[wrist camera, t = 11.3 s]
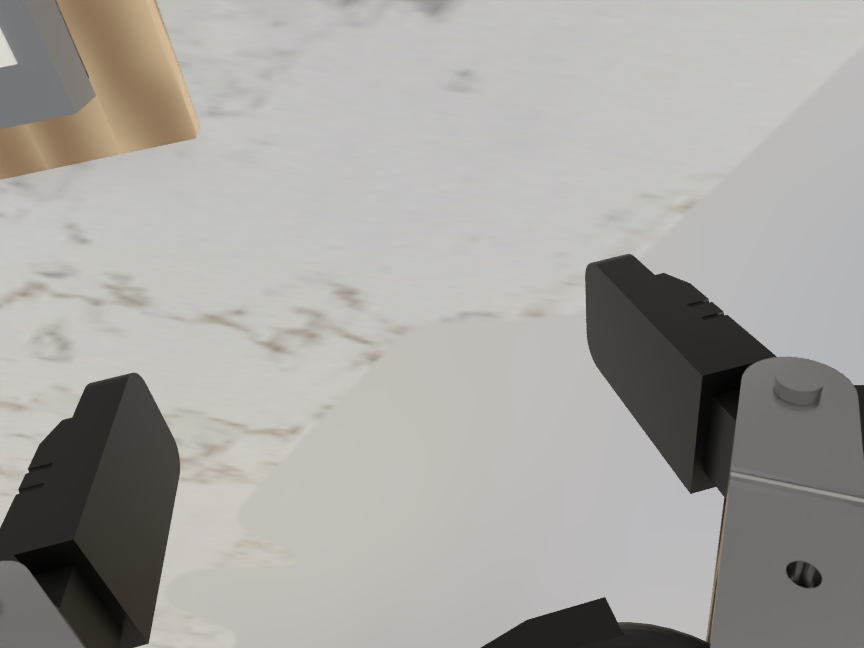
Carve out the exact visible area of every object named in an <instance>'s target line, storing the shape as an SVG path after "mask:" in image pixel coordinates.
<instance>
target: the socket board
mask: <svg viewBox="0 0 864 648" xmlns="http://www.w3.org/2000/svg"><path fill="white" fill-rule="evenodd" d="M56 2H57V4H58V6H59V9H60V11H61V13H62V16H63V18H64V20H65V22H66V25H67V27H68V29H69V32H70V34H71V36H72V39H73V41H74V43H75V46H76V48H77V50H78V53H79V55H80V57H81V60H82V62H83V64H84V66H85V69H86V71H87V72H86V73H87V75H88V77H89V80H90V82H91V84H92V87H93V89H94V91H95V94H96V96H95V97H94V98H93V99H92V100H91V101H90V102H89V103H88V104H86V105H85V106H84V107H83V108H82V109H81V110H80V111H79V112H77V113H76V114H73V115H68V116H63V117H58V118H53V119H48V120H43V121H39V122H34V123H29V124H24V125H19V126H14V127H9V128H4V129H0V180H1V179H6V178H10V177H15V176H20V175H25V174H29V173H34V172H39V171H44V170H48V169H53V168H58V167H62V166H67V165H72V164H77V163H81V162H86V161H91V160H95V159H100V158H105V157H110V156H114V155H119V154H124V153H128V152H133V151H138V150H143V149H147V148H152V147H157V146H161V145H166V144H171V143H176V142H180V141H185V140H190V139H194V138H196V136H197V134H198V131H199V129H200V125H199V122H198V119H197V116H196V113H195V110H194V108H193V105H192V102H191V99H190V96H189V94H188V91H187V88H186V85H185V82H184V79H183V77H182V74H181V71H180V68H179V65H178V62H177V60H176V57H175V54H174V51H173V48H172V45H171V43H170V40H169V37H168V34H167V31H166V29H165V26H164V23H163V20H162V17H161V14H160V12H159V9H158V6H157V3H156V0H56Z"/></svg>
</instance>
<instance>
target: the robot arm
mask: <svg viewBox="0 0 864 648" xmlns="http://www.w3.org/2000/svg"><path fill="white" fill-rule="evenodd" d="M585 283H586V323H587V340H588V345H589V349H590V353H591V355H592V358H593V360H594V362H595V364H596V366H597V367H598V369H599V370H600V372H601V373H602V374H603V376H604V377H605V378H606V380H607V381H608V382H609V384H610V385H611V387H612V388H613V389H614V391H615V392H616V393H617V395H618V396H619V397H620V399H621V400H622V401H623V403H624V404H625V406H626V407H627V408H628V410H629V411H630V412H631V414H632V415H633V416H634V418H635V419H636V420H637V422H638V423H639V424H640V426H641V427H642V428H643V430H644V431H645V433H646V434H647V435H648V437H649V438H650V440H651V441H652V442H653V444H654V445H655V446H656V448H657V449H658V450H659V452H660V453H661V454H662V456H663V457H664V459H665V460H666V461H667V463H668V464H669V465H670V466H671V468H672V469H673V471H674V472H675V473H676V475H677V476H678V478H679V479H680V480H681V482H682V483H683V484H684V486H685V487H686V488H687V489H688V491H689V492H690V494H692V493H695V492H699V491H702V490H706V489H710V488H713V487H717V488H718V490H719V491H720V492H721V493H722V495H723V496H724V497H725V498H724V504H723V511H722V519H721V527H720V536H719V543H718V551H717V560H716V568H715V575H714V584H713V592H712V599H711V607H710V615H709V622H708V630H707V637H706V642H705V641H703V640H701V639H699V638H697V637H694V636H692V635H689V634H686V633H682V632H680V631H676V630H674V629H670V628H665V627H660V626H656V625H651V624H642V623H631V622H617V621H616V618H615V616H614V614H613V612H612V610H611V608H610V606H609V604H608V603H607V600H606V598H605V597H604V598H601V599H597V600H594V601H590V602H587V603H584V604H580V605H577V606H573V607H570V608H566V609H563V610H560V611H556V612H553V613H549V614H546V615H543V616H539V617H536V618H532V619H529V620H526V621H524V622H523V623H521V624H519V625H518V626H516V627H515V628H513V629H511V630H509V631H508V632H507V633H504V634H503V635H501V636H500V637H498V638H496V639H495V640H493V641H491V642H490V643H488V644H486V645H485V646H483V647H481V648H864V385H853V384H852V383H851V381H850V380H849V379H848V378H847V377H845V376H844V375H843V374H842V373H840V372H839V371H837V370H835V369H834V368H831V367H829V366H827V365H825V364H822V363H819V362H816V361H813V360H809V359H804V358H797V357H776V356H775V355H774V354H773V353H772V352H771V351H769V350H768V349H767V348H766V347H765V346H763V345H762V344H761V343H760V342H759V341H757V340H756V339H755V338H754V337H753V336H751V335H750V334H749V333H748V332H747V331H746V330H745V329H743V328H742V327H741V326H740V325H739V324H737V323H736V322H735V321H734V320H732V318H730V317H729V316H728V315H724V313H723V311H722V310H721V309H720V308H719V307H717V306H716V305H715V304H714V303H713V302H710V303H709V300H708V298H707V297H705V296H704V295H703V294H702V293H701V292H700V291H698V290H697V289H696V288H695V287H694V286H693V285H691V284H690V283H688V282H685V281H683V280H680V279H677V278H675V277H673V276H670V275H668V274H665V273H662V274H658V275H654V274H653V273H652V272H651V271H650V270H649V269H647V268H646V267H645V266H644V265H643V264H642V263H641V262H640V261H639V260H638V259H636V258H635V257H634V256H633V255H631V254H626V255H622V256H618V257H613V258H609V259H605V260H601V261H597V262H593V263H590V264H588V266H587V268H586V274H585ZM28 470H29V473H27V474H25V476H24V479H23V481H22V483H21V485H20V487H19V489H18V490H19V494H17V495H16V496H15V498H14V500H13V502H12V504H11V506H10V508H9V511H8V513H7V515H6V517H5V519H4V521H3V523H2V525H1V528H0V648H134V647H138V646H141V645H145V644H148V643H149V638H150V633H151V627H152V622H153V616H154V611H155V605H156V600H157V594H158V589H159V584H160V578H161V573H162V567H163V562H164V556H165V551H166V545H167V540H168V535H169V529H170V524H171V518H172V513H173V507H174V502H175V496H176V491H177V486H178V480H179V474H180V460H179V453H178V449H177V445H176V443H175V440H174V438H173V436H172V434H171V432H170V430H169V428H168V426H167V424H166V422H165V420H164V418H163V416H162V414H161V412H160V410H159V408H158V406H157V404H156V403H155V401H154V399H153V397H152V395H151V393H150V391H149V389H148V387H147V385H146V383H145V382H144V380H143V379H142V377H141V376H140V375H139V374H137V373H130V374H126V375H122V376H118V377H114V378H110V379H105V380H101V381H97V382H93V383H90V384H88V385H87V386H86V387H85V389H84V392H83V394H82V396H81V399H80V401H79V403H78V406H77V408H76V410H75V413H74V415H73V417H72V418H69V419H65V420H62V421H61V422H60V423H59V424H58V425H57V426H56V427H55V428H54V429H53V431H52V432H51V433H50V434H49V435H48V436H47V437H46V438H45V439H44V440H43V441H42V442H41V443H40V444H39V447H38V449H37V451H36V453H35V455H34V457H33V459H32V462H31V464H30V466H29V468H28Z"/></svg>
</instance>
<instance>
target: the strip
mask: <svg viewBox="0 0 864 648" xmlns="http://www.w3.org/2000/svg"><path fill="white" fill-rule="evenodd" d="M95 96H96V94H95V91H94V89H93V87H92V84H91V82H90V80H89V77H88V75H87V73H86V70H85V68H84V66H83V64H82V61H81V59H80V57H79V54H78V52H77V50H76V47H75V45H74V43H73V40H72V38H71V36H70V33H69V31H68V29H67V26H66V24H65V22H64V19H63V17H62V15H61V12H60V10H59V8H58V5H57V3H56V1H55V0H0V129H4V128H9V127H14V126H19V125H24V124H29V123H34V122H39V121H43V120H48V119H53V118H58V117H63V116H68V115H73V114H76V113H77V112H79V111H80V110H81V109H82V108H83V107H84V106H85V105H86V104H88V103H89V102H90V101H91V100H92V99H93V98H94V97H95Z"/></svg>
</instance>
